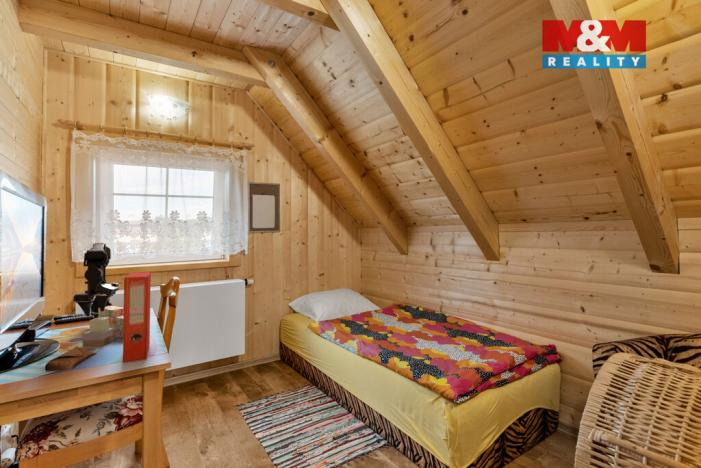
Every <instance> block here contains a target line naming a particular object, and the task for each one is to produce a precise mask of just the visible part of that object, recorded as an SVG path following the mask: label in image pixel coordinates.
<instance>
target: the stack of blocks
mask: <svg viewBox="0 0 701 468" xmlns="http://www.w3.org/2000/svg"><path fill="white" fill-rule="evenodd" d="M98 318H109V328H114V338H115V337H116V338H120V339H123V319H124V306H116V305H113V306H106V307H105V309H104V311H101V310H100V308H98Z"/></svg>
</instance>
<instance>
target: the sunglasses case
mask: <svg viewBox="0 0 701 468" xmlns="http://www.w3.org/2000/svg"><path fill="white" fill-rule="evenodd" d="M96 354H97V352H94V351H91V350H88V349H84V348H81V347H78V346H75V347H73V348H72V349H70V350H68V351H66V352H64V353H62V354H60V355H59V356H57V357H55V358H53V359H51V360H49V361H48V362H47V363H46V364H45V365H44V366H45V367H44V369H45V370H44V371H46V372H58V371H59V372H60V371H71V370H73V369H74V368H76V367H77V366H79V364H81V363H83V362H84V361H86V360H87V359H89V358H91V357H93V356H95V355H96Z"/></svg>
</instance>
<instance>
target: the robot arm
mask: <svg viewBox="0 0 701 468" xmlns="http://www.w3.org/2000/svg"><path fill="white" fill-rule="evenodd" d="M83 255H84V256H83V264H82V266H83V267H84V268H85V267H87V270H86V271H84V279H85V280H86V281H84V284H85V285H87V286H86V287H87V290H84V292H80V293H77V294H74V296H73V298H72V300H73V302H75V304H77V305H78V306H79V307H80V308H81V310H82V312H83V314H84V315H85V316H86V317H90V316H91V317H93V319H95V318H98V308H100V310H101V311H104V309H105V307H106V306H114V305H113V304H112V302H111V301H110V300H111V299H110V298H111V297H113V296H114V295H116V293H117V291H119V289H120V288H119V283H117V282H113V283H112V284H111V283H109V284H108V283H107V266H109V264H110V260H111V259H112V250H111V248H110V247H108V246H107V244H106V243H105V242H95V243H93V244H92V247H91V248H90V249H87V250H86V252H84V254H83Z"/></svg>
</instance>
